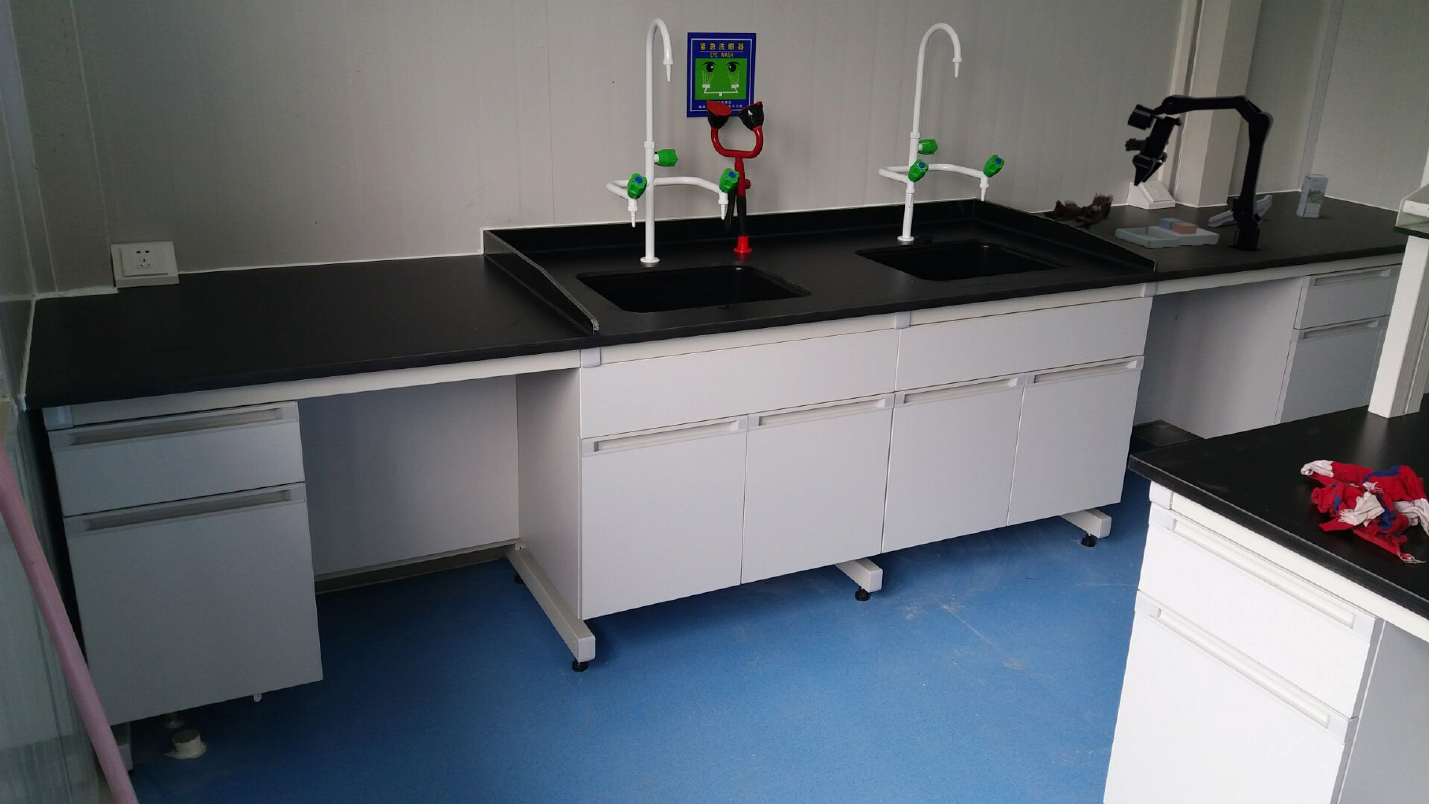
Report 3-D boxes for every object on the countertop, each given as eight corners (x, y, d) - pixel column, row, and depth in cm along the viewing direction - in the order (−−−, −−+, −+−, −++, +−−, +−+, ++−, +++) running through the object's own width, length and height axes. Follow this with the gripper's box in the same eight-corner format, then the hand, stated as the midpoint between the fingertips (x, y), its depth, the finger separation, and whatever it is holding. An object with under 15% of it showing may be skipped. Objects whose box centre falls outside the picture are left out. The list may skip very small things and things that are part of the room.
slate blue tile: (1182, 229, 338) (1184, 221, 337) (1169, 230, 336) (1170, 222, 335) (1171, 225, 342) (1173, 218, 341) (1158, 226, 341) (1159, 218, 340)
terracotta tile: (1195, 233, 332) (1197, 225, 331) (1182, 234, 331) (1183, 226, 330) (1184, 230, 337) (1186, 222, 336) (1171, 230, 335) (1172, 222, 334)
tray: (1177, 247, 328) (1179, 238, 327) (1147, 248, 325) (1149, 240, 324) (1143, 235, 342) (1145, 227, 341) (1114, 236, 339) (1115, 229, 338)
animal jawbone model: (1132, 232, 359) (1140, 204, 354) (1075, 243, 350) (1082, 214, 344) (1095, 212, 372) (1103, 184, 366) (1039, 222, 362) (1046, 194, 357)
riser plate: (1217, 244, 333) (1219, 234, 332) (1176, 246, 329) (1178, 236, 328) (1186, 234, 345) (1187, 224, 344) (1146, 236, 341) (1148, 226, 340)
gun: (1270, 216, 369) (1272, 194, 365) (1211, 240, 357) (1212, 217, 353) (1265, 215, 370) (1267, 193, 367) (1206, 239, 358) (1207, 216, 355)
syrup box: (1312, 215, 379) (1322, 173, 374) (1319, 218, 374) (1329, 176, 368) (1295, 214, 380) (1304, 172, 374) (1302, 218, 374) (1311, 175, 369)
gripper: (1142, 124, 343) (1122, 171, 351) (1126, 129, 329) (1106, 178, 336) (1176, 136, 339) (1156, 183, 346) (1161, 142, 324) (1140, 191, 332)
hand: (1139, 184), depth 340 cm, fingers open, 9 cm apart
